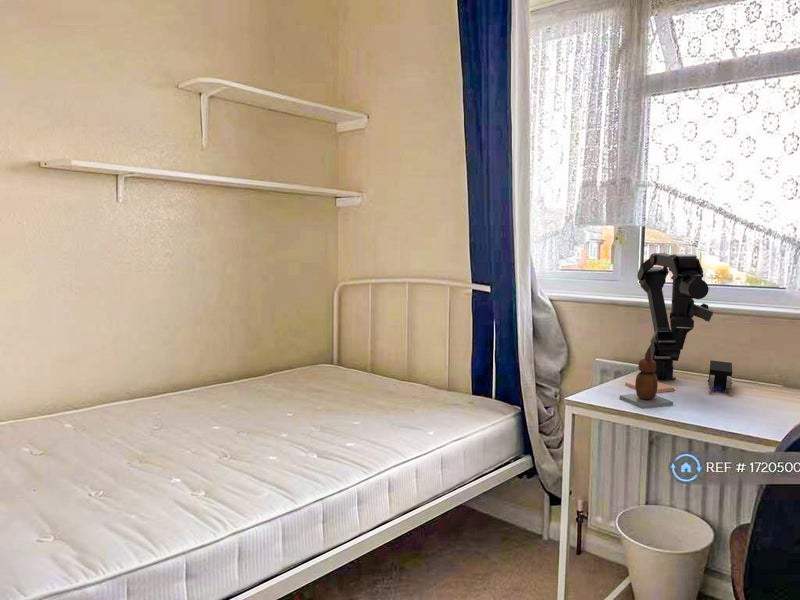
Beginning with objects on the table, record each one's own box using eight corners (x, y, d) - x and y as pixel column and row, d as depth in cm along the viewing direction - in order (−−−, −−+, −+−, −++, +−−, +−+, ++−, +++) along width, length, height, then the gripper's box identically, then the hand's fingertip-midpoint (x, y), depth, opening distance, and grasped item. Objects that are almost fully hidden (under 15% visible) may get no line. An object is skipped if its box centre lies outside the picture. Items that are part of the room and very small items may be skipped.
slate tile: (619, 398, 174) (619, 395, 174) (648, 395, 177) (648, 392, 177) (642, 408, 165) (642, 404, 165) (672, 405, 168) (673, 401, 168)
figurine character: (732, 400, 177) (731, 383, 190) (734, 375, 175) (732, 359, 189) (707, 397, 180) (707, 380, 193) (708, 373, 178) (708, 357, 192)
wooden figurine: (655, 402, 167) (658, 349, 165) (633, 399, 170) (635, 347, 168) (658, 396, 173) (660, 345, 171) (636, 394, 175) (638, 343, 174)
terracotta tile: (625, 385, 189) (625, 382, 189) (651, 382, 192) (652, 379, 192) (646, 393, 180) (646, 390, 179) (674, 390, 182) (674, 387, 182)
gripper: (714, 300, 170) (711, 354, 172) (710, 293, 187) (707, 343, 189) (671, 298, 175) (669, 351, 176) (670, 292, 192) (668, 340, 193)
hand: (679, 346), depth 184 cm, fingers open, 9 cm apart
